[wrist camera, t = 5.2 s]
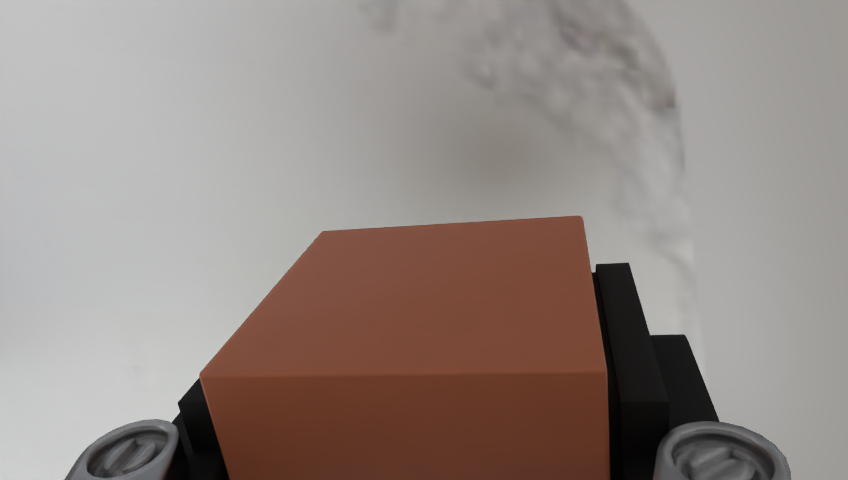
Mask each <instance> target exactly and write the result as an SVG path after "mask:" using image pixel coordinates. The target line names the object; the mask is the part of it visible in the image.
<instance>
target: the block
mask: <svg viewBox="0 0 848 480" xmlns="http://www.w3.org/2000/svg"><path fill="white" fill-rule="evenodd" d="M199 378H200V382H201V385H202V388H203V392H204V395H205V398H206V402H207V405H208V408H209V412H210V415H211V418H212V422H213V425H214V429H215V432H216V435H217V439H218V442H219V445H220V449H221V452H222V455H223V459H224V462H225V465H226V469H227V472H228V476H229V479H230V480H610V451H609V416H608V380H607V366H606V360H605V354H604V348H603V341H602V335H601V329H600V323H599V316H598V310H597V304H596V298H595V291H594V285H593V279H592V272H591V266H590V260H589V254H588V247H587V241H586V235H585V229H584V222H583V218H582V217H581V216H566V217H550V218H533V219H517V220H500V221H484V222H467V223H451V224H434V225H418V226H401V227H384V228H368V229H351V230H335V231H323V232H321V233H320V235H319V236H318V237H317V238H316V239H315V240H314V241H313V243H312V244H311V245H310V246H309V247H308V248H307V250H306V251H305V252H304V253H303V254H302V255H301V257H300V258H299V259H298V260H297V261H296V262H295V263H294V265H293V266H292V267H291V268H290V269H289V270H288V272H287V273H286V274H285V275H284V276H283V277H282V279H281V280H280V281H279V282H278V283H277V284H276V286H275V287H274V288H273V289H272V290H271V291H270V292H269V294H268V295H267V296H266V297H265V298H264V299H263V301H262V302H261V303H260V304H259V305H258V306H257V308H256V309H255V310H254V311H253V312H252V313H251V314H250V316H249V317H248V318H247V319H246V320H245V321H244V323H243V324H242V325H241V326H240V327H239V328H238V330H237V331H236V332H235V333H234V334H233V335H232V336H231V338H230V339H229V340H228V341H227V342H226V343H225V345H224V346H223V347H222V348H221V349H220V350H219V352H218V353H217V354H216V355H215V356H214V357H213V358H212V360H211V361H210V362H209V363H208V364H207V365H206V367H205V368H204V369H203V370H202V371H201V372H200V377H199Z"/></svg>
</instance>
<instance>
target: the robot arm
mask: <svg viewBox="0 0 848 480" xmlns="http://www.w3.org/2000/svg"><path fill="white" fill-rule="evenodd" d="M592 279H593V285H594V291H595V298H596V304H597V310H598V316H599V323H600V329H601V335H602V341H603V348H604V354H605V360H606V366H607V380H608V416H609V451H610V480H791V472H790V468H789V465H788V463H787V460H786V457H785V456H784V455H783V454H782V452H781V451H780V450H779V449H778V448H777V447H776V445H775V444H773V443H772V442H770V441H769V440H767V439H766V438H764V437H763V436H762V435H760V434H758V433H755V432H753V431H751V430H749V429H746V428H744V427H741V426H737V425H733V424H729V423H724V422H719V419H718V416H717V414H716V412H715V409H714V406H713V404H712V401H711V399H710V396H709V393H708V391H707V388H706V386H705V383H704V381H703V378H702V375H701V373H700V370H699V368H698V365H697V363H696V360H695V358H694V355H693V353H692V350H691V347H690V345H689V342H688V340H687V338H686V336H685V335H650V334H649V331H648V327H647V324H646V320H645V317H644V313H643V310H642V307H641V303H640V300H639V296H638V293H637V290H636V286H635V283H634V279H633V276H632V272H631V269H630V266H629V263H613V264H596V272H594V273H592ZM178 406H179V409H180V413H179V414H178V416H177V417H176V418H175V419H174V420H173V422H172V423H170V422H169V421H164V420H159V419H154V420H142V421H138V422H134V423H130V424H127V425H124V426H122V427H119V428H117V429H114V430H112V431H111V432H109V433H107V434H105V435H104V436H102V437H100V438H99V439H97V440H96V441H95V442H94V443H92V444H91V445H90V446H88V447H87V448H86V449H85V451H84V452H83V453H82V454H81V455H80V457H79V458H78V459H77V461H76V462H75V464H74V466H73V467H72V469H71V470H70V472H69V473H68V475H67V477H66V478H65V480H230V479H229V476H228V472H227V469H226V465H225V462H224V459H223V455H222V452H221V449H220V445H219V442H218V439H217V435H216V432H215V429H214V425H213V422H212V418H211V415H210V412H209V408H208V405H207V402H206V398H205V395H204V392H203V388H202V385H201V382H200V378H199V379H198V380H197V381H196V382H195V383H194V385H193V386H192V387H191V388H190V389H189V390H188V392H187V393H186V394H185V395H184V396H183V397H182V399H181V400H180V401H179V402H178Z"/></svg>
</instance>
